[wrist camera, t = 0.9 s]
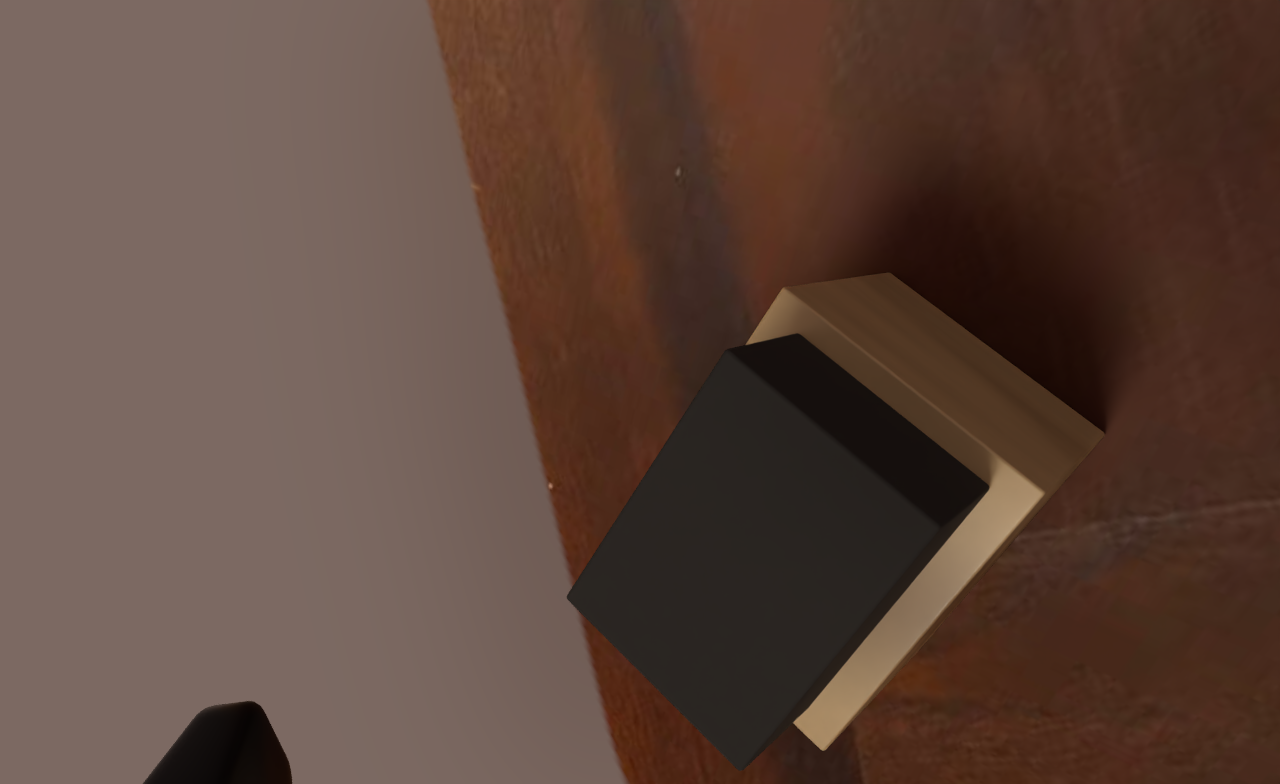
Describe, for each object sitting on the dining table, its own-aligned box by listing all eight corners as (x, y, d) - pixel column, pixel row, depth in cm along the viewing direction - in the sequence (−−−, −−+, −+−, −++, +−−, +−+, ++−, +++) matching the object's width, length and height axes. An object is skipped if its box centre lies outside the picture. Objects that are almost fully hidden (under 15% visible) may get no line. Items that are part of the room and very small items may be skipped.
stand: (918, 651, 27) (822, 753, 22) (736, 490, 29) (610, 549, 24) (1106, 433, 24) (1046, 492, 19) (889, 271, 26) (782, 286, 21)
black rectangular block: (807, 709, 22) (739, 774, 19) (646, 556, 23) (563, 598, 21) (992, 486, 19) (941, 527, 17) (797, 331, 21) (725, 347, 18)
